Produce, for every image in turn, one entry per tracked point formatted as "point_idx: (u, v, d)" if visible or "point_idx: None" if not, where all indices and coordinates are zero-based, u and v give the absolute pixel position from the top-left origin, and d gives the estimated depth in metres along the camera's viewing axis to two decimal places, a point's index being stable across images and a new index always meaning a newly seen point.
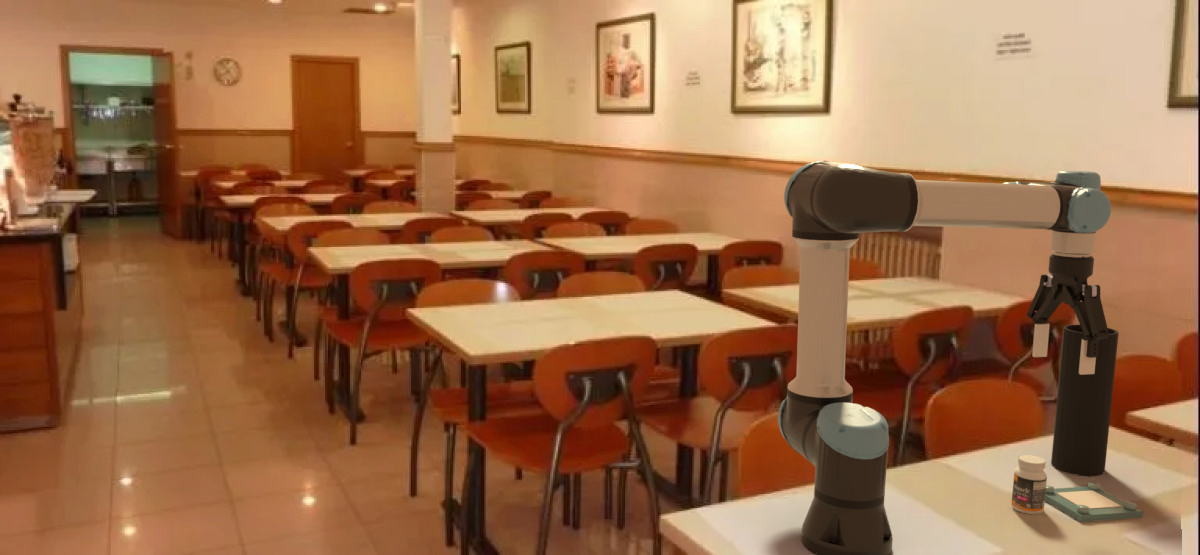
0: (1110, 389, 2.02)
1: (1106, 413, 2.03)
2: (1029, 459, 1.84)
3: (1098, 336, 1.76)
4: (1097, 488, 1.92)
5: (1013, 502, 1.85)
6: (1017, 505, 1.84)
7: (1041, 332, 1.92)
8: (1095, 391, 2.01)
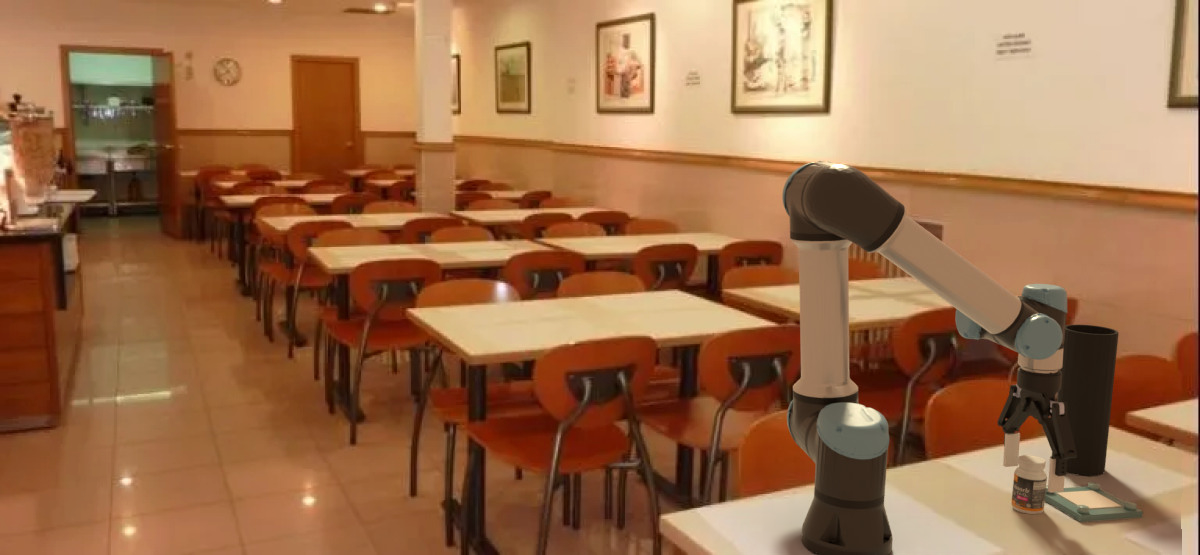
0: (1110, 389, 2.02)
1: (1106, 413, 2.03)
2: (1029, 459, 1.84)
3: (1066, 456, 1.74)
4: (1097, 488, 1.92)
5: (1013, 502, 1.85)
6: (1017, 505, 1.84)
7: (1011, 442, 1.90)
8: (1095, 391, 2.01)
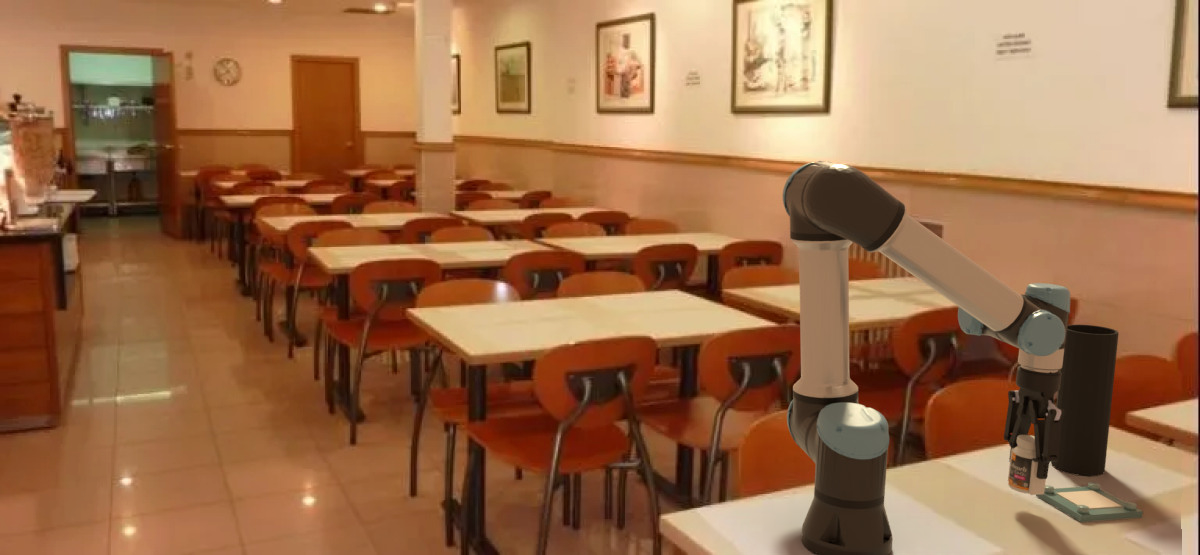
0: (1110, 389, 2.02)
1: (1106, 413, 2.03)
2: (1028, 438, 1.83)
3: (1048, 459, 1.77)
4: (1097, 488, 1.92)
5: (1010, 481, 1.84)
6: (1014, 484, 1.83)
7: None
8: (1095, 391, 2.01)
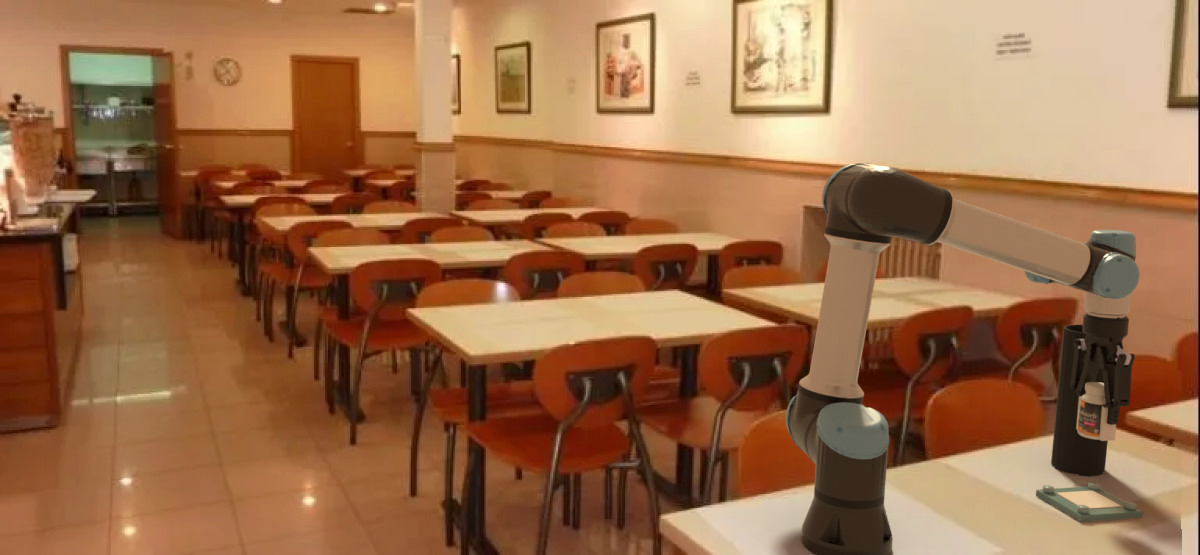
0: None
1: None
2: (1096, 385, 1.84)
3: (1119, 404, 1.78)
4: (1097, 488, 1.92)
5: (1080, 428, 1.85)
6: (1084, 431, 1.84)
7: None
8: None
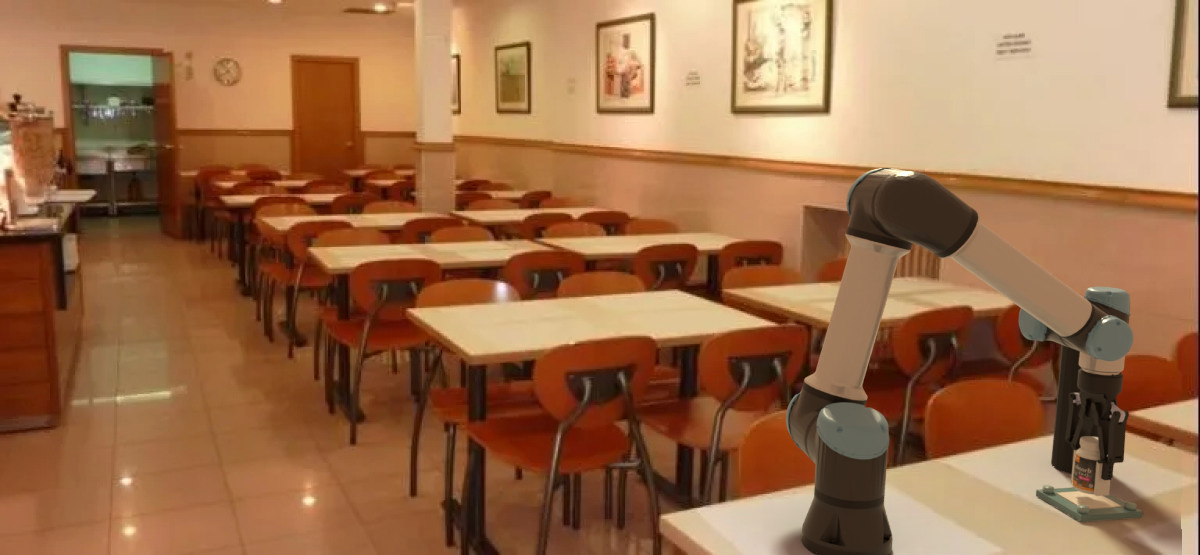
0: None
1: None
2: (1091, 440, 1.85)
3: (1113, 461, 1.79)
4: None
5: (1075, 483, 1.87)
6: (1078, 485, 1.86)
7: None
8: None
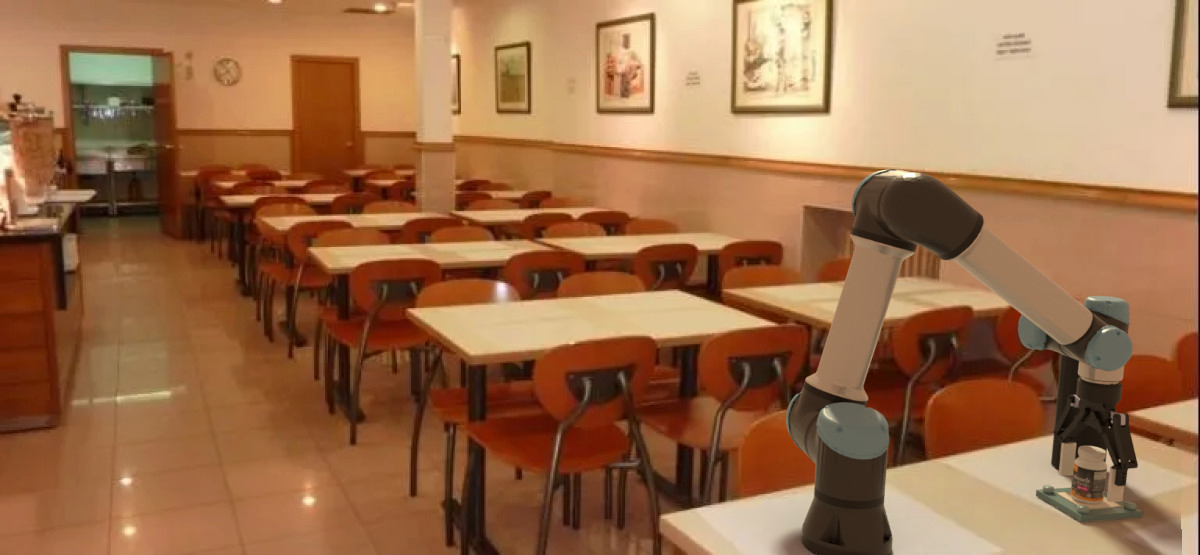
0: None
1: None
2: (1089, 449, 1.86)
3: (1127, 466, 1.76)
4: None
5: (1073, 492, 1.87)
6: (1077, 495, 1.86)
7: (1067, 451, 1.92)
8: None
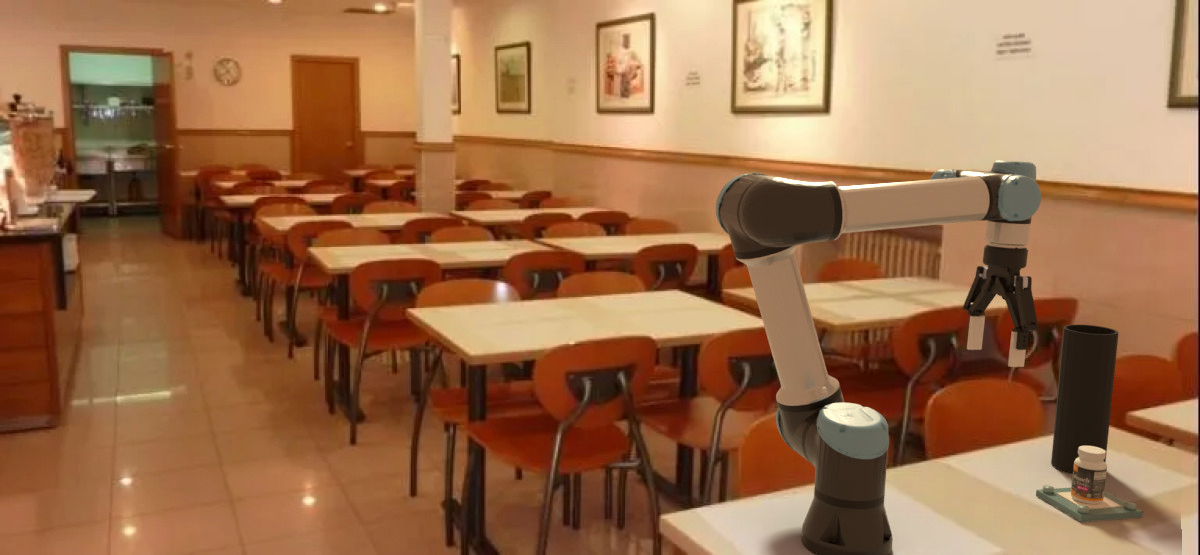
0: (1110, 389, 2.02)
1: (1106, 413, 2.03)
2: (1089, 449, 1.86)
3: (1027, 328, 1.73)
4: None
5: (1073, 492, 1.87)
6: (1077, 495, 1.86)
7: (976, 324, 1.90)
8: (1095, 391, 2.01)
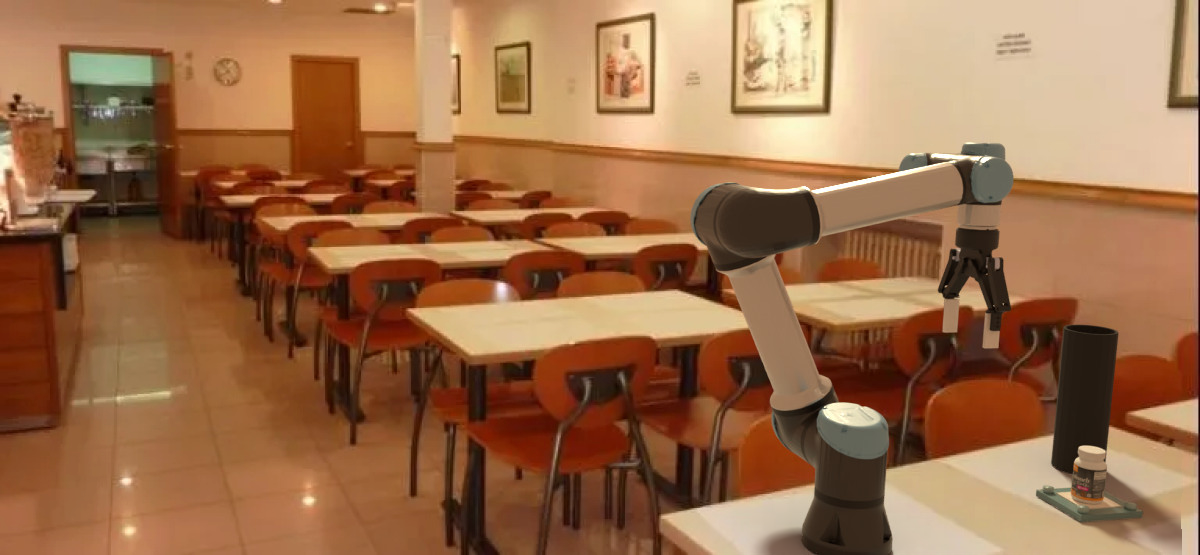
0: (1110, 389, 2.02)
1: (1106, 413, 2.03)
2: (1089, 449, 1.86)
3: (1000, 309, 1.73)
4: None
5: (1073, 492, 1.87)
6: (1077, 495, 1.86)
7: (950, 307, 1.90)
8: (1095, 391, 2.01)
